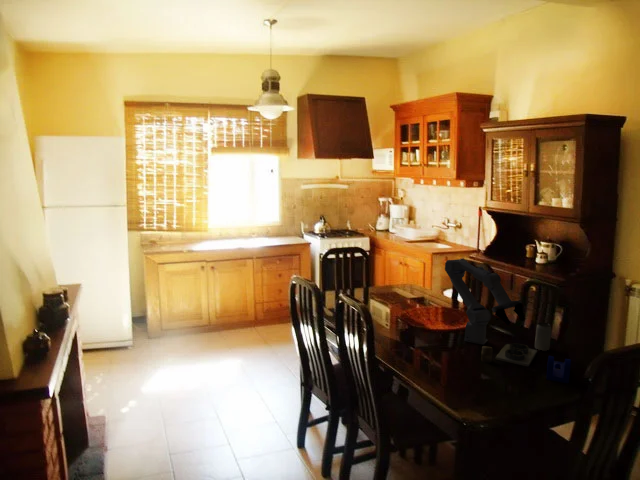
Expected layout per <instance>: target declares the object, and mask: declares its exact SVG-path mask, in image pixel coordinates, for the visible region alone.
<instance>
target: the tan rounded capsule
mask: <svg viewBox="0 0 640 480" xmlns="http://www.w3.org/2000/svg"><path fill="white" fill-rule="evenodd" d="M480 356H481V357H480V360H481V361H480V362H482V363H485V364H489V363H492V358H493V357H492V356H493V347H491V346H487V345H483V346H482V347H481V355H480Z"/></svg>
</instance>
